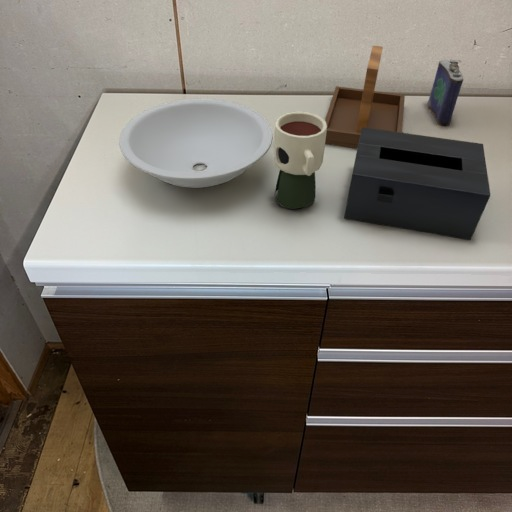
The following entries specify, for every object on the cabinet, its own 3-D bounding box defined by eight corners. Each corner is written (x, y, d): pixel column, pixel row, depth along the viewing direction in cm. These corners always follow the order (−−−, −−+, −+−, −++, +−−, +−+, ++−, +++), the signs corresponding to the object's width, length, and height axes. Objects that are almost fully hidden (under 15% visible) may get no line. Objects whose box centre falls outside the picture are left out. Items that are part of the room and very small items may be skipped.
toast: (365, 134, 86) (378, 69, 77) (355, 133, 86) (367, 68, 77) (370, 108, 92) (382, 46, 84) (361, 107, 93) (372, 45, 84)
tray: (334, 99, 97) (335, 86, 95) (401, 107, 95) (404, 94, 93) (320, 143, 85) (321, 129, 83) (397, 154, 82) (400, 140, 80)
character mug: (264, 181, 76) (266, 107, 67) (306, 176, 78) (314, 102, 68) (281, 225, 69) (286, 148, 60) (327, 218, 70) (339, 142, 61)
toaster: (466, 187, 76) (483, 143, 70) (470, 244, 66) (491, 199, 61) (353, 169, 79) (361, 127, 73) (343, 222, 69) (351, 178, 64)
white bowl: (246, 122, 90) (245, 89, 85) (293, 196, 74) (295, 160, 69) (118, 143, 84) (110, 109, 80) (138, 228, 68) (130, 191, 64)
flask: (425, 103, 96) (440, 49, 88) (439, 103, 96) (455, 49, 88) (438, 126, 89) (456, 71, 82) (453, 126, 89) (472, 71, 82)
